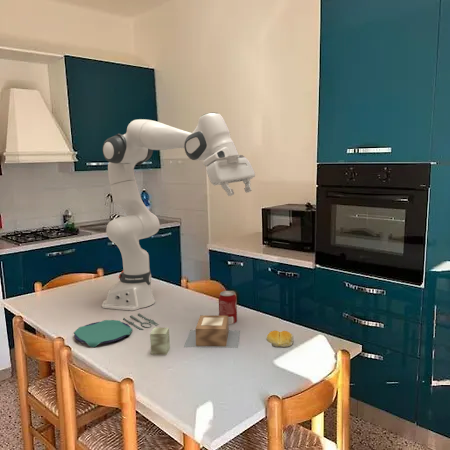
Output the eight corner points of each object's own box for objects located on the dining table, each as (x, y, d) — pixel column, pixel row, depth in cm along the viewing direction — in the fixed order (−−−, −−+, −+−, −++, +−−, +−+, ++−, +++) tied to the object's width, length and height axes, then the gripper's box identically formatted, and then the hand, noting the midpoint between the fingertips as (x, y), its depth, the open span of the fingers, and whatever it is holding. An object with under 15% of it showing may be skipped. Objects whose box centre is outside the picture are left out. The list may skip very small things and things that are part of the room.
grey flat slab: (183, 349, 143) (183, 347, 143) (190, 332, 157) (190, 330, 157) (238, 350, 142) (238, 347, 142) (240, 333, 156) (240, 330, 156)
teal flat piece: (65, 335, 158) (65, 329, 158) (138, 315, 178) (137, 309, 177) (88, 353, 143) (88, 347, 143) (165, 329, 163) (165, 323, 163)
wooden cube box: (196, 345, 144) (195, 328, 143) (201, 331, 156) (200, 314, 155) (226, 346, 143) (225, 328, 142) (228, 331, 155) (228, 315, 154)
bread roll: (268, 336, 153) (268, 326, 152) (294, 339, 150) (294, 328, 150) (264, 347, 145) (264, 335, 144) (291, 349, 142) (291, 337, 142)
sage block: (151, 357, 139) (150, 333, 138) (155, 350, 144) (153, 327, 142) (166, 357, 138) (165, 333, 137) (170, 350, 143) (168, 327, 142)
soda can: (235, 327, 161) (234, 296, 159) (217, 326, 162) (216, 295, 160) (238, 320, 168) (237, 290, 166) (221, 319, 169) (220, 289, 167)
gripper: (238, 158, 158) (252, 193, 157) (199, 162, 143) (214, 201, 142) (250, 150, 154) (265, 186, 153) (211, 153, 139) (227, 193, 138)
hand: (240, 193), depth 147 cm, fingers open, 8 cm apart
